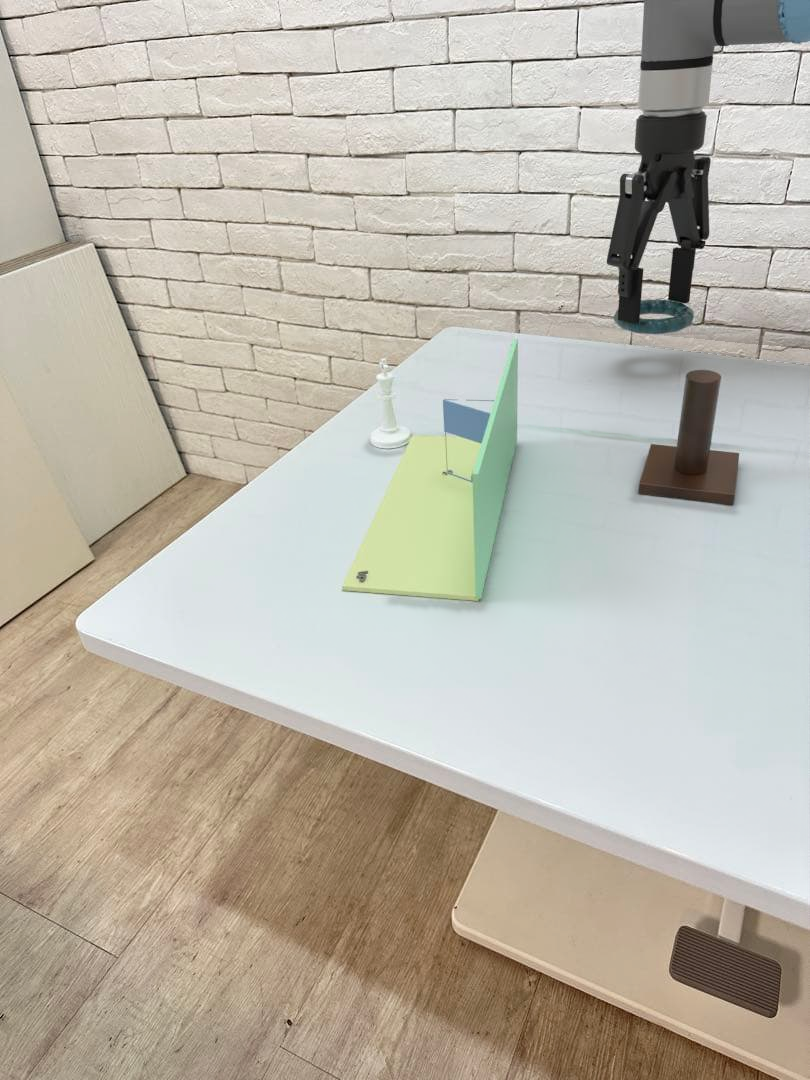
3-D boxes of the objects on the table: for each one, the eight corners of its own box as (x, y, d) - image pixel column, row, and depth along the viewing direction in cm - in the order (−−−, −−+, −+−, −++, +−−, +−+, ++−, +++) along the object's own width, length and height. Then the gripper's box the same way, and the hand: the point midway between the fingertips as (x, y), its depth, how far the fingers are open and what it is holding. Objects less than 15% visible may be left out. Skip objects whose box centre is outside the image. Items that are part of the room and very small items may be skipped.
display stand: (481, 601, 68) (478, 474, 61) (342, 590, 71) (324, 467, 64) (517, 442, 92) (517, 338, 85) (412, 438, 95) (405, 337, 88)
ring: (695, 312, 104) (697, 299, 103) (688, 337, 97) (690, 323, 96) (620, 310, 107) (621, 296, 106) (608, 334, 100) (609, 319, 99)
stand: (737, 462, 84) (755, 361, 78) (733, 505, 78) (752, 398, 71) (650, 453, 88) (660, 355, 81) (638, 493, 81) (648, 390, 75)
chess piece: (400, 426, 98) (393, 348, 92) (418, 441, 94) (412, 360, 88) (363, 436, 96) (354, 357, 91) (380, 452, 92) (372, 370, 87)
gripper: (701, 99, 97) (682, 285, 109) (579, 124, 86) (572, 327, 98) (758, 99, 92) (731, 294, 104) (635, 126, 81) (621, 340, 93)
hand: (654, 310), depth 101 cm, fingers closed on ring, 9 cm apart
